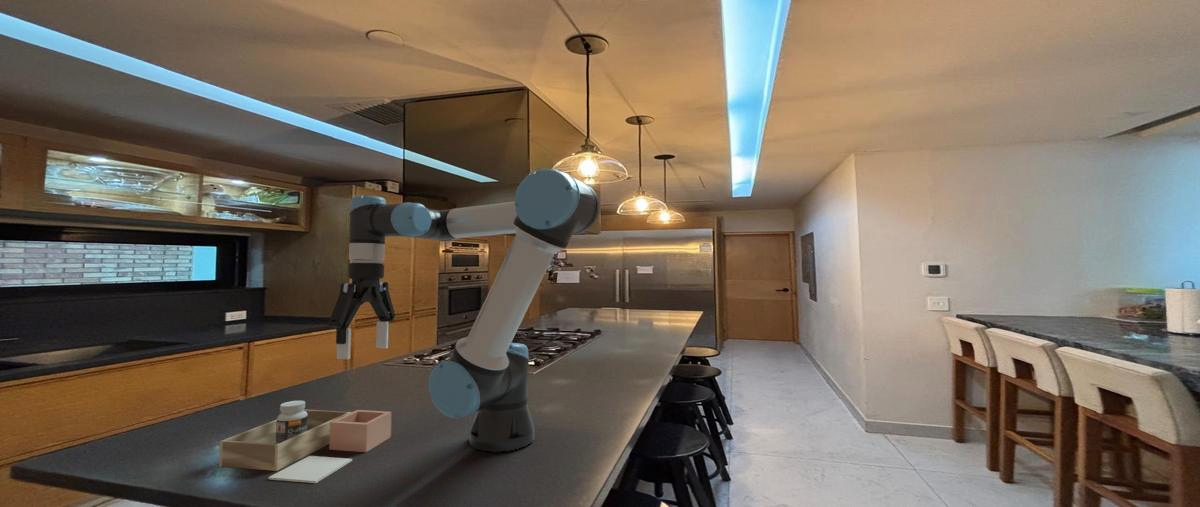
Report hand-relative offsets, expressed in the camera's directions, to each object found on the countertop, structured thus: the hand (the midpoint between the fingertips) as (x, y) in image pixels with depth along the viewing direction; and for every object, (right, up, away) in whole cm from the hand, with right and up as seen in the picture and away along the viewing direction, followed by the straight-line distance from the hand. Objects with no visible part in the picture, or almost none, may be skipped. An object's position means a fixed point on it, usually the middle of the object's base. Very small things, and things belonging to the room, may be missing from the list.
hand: (363, 353), depth 104 cm
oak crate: (-14, -20, -4) cm, 25 cm away
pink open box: (0, -21, -1) cm, 21 cm away
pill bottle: (-14, -21, -4) cm, 25 cm away
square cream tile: (-3, -20, -15) cm, 25 cm away
